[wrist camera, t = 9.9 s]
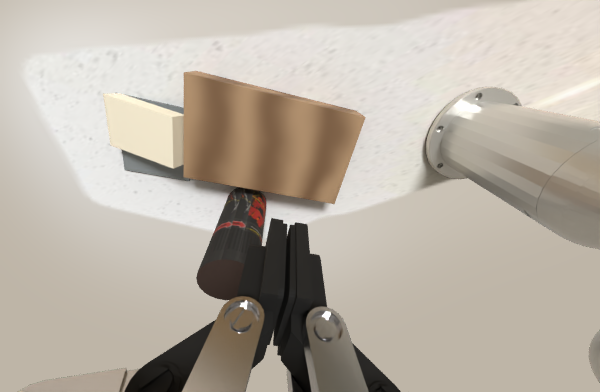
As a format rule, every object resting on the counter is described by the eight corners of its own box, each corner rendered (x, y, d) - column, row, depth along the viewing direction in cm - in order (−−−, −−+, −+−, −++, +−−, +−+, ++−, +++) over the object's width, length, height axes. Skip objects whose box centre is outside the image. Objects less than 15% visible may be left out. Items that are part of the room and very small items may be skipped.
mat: (191, 109, 30) (190, 110, 29) (190, 180, 34) (189, 181, 34) (116, 92, 28) (114, 93, 28) (125, 168, 33) (124, 169, 33)
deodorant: (224, 187, 35) (189, 261, 22) (264, 185, 36) (252, 257, 22) (231, 220, 38) (204, 302, 25) (268, 217, 38) (260, 297, 25)
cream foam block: (185, 115, 27) (172, 117, 25) (185, 163, 30) (173, 168, 28) (119, 93, 28) (103, 93, 26) (125, 142, 31) (110, 145, 29)
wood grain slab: (356, 111, 31) (365, 117, 28) (329, 190, 37) (334, 203, 33) (196, 70, 28) (183, 72, 24) (193, 165, 33) (183, 177, 30)
